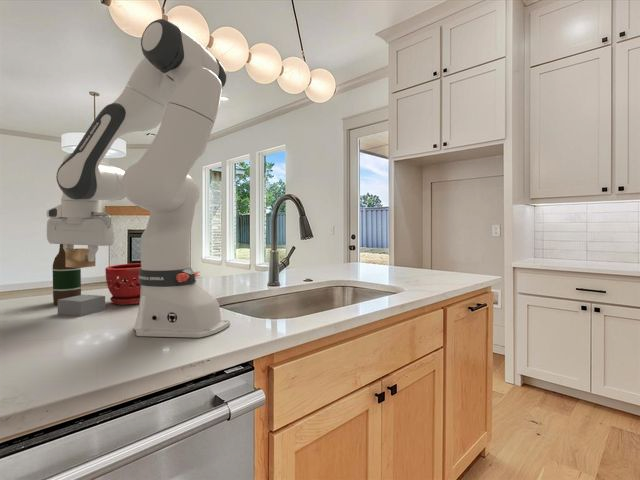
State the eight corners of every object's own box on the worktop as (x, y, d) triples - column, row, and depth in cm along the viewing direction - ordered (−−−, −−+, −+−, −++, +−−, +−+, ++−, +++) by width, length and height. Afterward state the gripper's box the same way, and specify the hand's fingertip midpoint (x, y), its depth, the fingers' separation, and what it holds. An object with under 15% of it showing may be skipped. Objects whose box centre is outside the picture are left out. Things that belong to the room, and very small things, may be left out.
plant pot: (123, 297, 123) (122, 262, 123) (160, 298, 122) (159, 263, 122) (96, 306, 110) (95, 267, 110) (137, 307, 109) (136, 267, 109)
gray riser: (105, 309, 106) (105, 296, 106) (81, 316, 98) (80, 301, 98) (83, 307, 108) (83, 294, 108) (57, 314, 100) (57, 299, 100)
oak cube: (95, 266, 104) (95, 248, 104) (79, 268, 99) (79, 249, 99) (81, 265, 105) (81, 248, 105) (65, 267, 101) (65, 249, 100)
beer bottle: (86, 302, 116) (85, 227, 115) (59, 306, 109) (57, 227, 108) (75, 299, 120) (73, 226, 119) (47, 303, 113) (46, 226, 113)
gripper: (119, 212, 102) (119, 261, 103) (62, 212, 107) (63, 258, 108) (101, 211, 96) (101, 263, 97) (41, 211, 101) (42, 260, 102)
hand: (80, 260), depth 102 cm, fingers closed on oak cube, 5 cm apart
